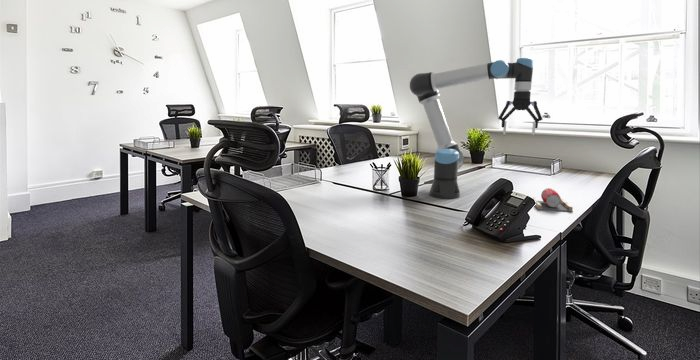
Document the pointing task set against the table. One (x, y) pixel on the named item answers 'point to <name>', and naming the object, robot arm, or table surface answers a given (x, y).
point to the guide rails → (560, 202)
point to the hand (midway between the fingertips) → (518, 134)
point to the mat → (558, 208)
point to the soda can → (551, 197)
